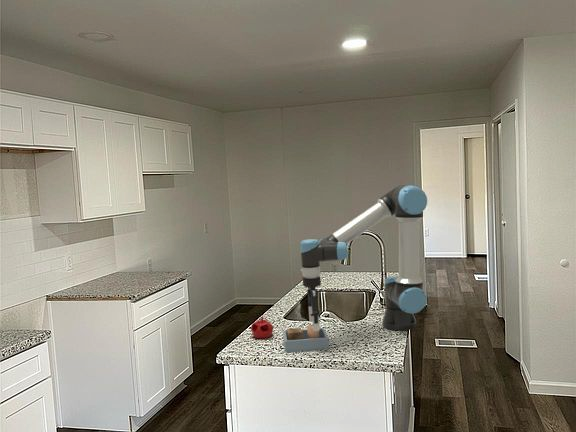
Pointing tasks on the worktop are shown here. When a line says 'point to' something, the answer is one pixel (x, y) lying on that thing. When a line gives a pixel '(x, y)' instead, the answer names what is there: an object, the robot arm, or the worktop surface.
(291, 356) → the worktop surface
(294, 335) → the walnut cube
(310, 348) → the tote
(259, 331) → the pomegranate
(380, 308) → the worktop surface
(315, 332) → the terracotta cylinder
